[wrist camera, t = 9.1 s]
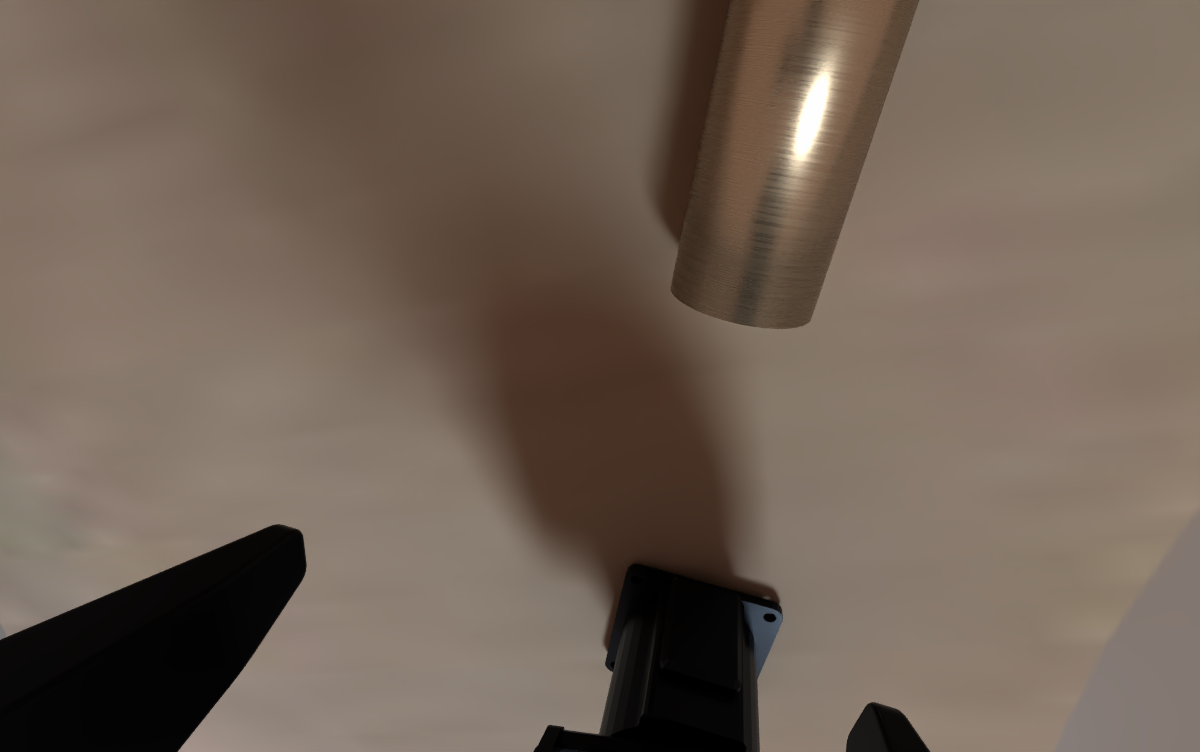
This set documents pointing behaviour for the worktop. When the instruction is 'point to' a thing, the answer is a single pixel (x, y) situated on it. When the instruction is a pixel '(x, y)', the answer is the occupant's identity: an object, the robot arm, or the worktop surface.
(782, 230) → the tube
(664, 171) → the worktop surface
